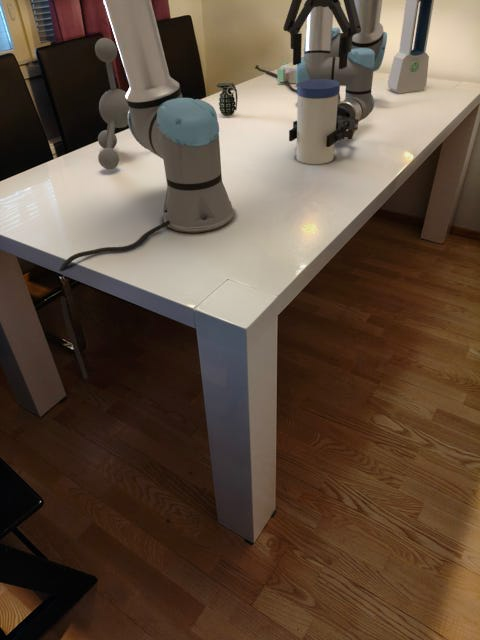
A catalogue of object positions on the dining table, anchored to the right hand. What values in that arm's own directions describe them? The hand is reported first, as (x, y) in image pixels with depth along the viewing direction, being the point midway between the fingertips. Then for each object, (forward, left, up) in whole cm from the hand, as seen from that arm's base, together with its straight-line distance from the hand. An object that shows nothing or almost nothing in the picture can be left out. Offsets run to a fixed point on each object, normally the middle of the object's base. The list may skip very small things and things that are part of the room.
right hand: (308, 138), depth 127 cm
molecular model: (-5, -50, -6) cm, 51 cm away
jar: (-4, +2, -6) cm, 8 cm away
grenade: (-45, -29, -6) cm, 54 cm away
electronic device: (-76, +34, -6) cm, 84 cm away
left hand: (-4, +2, +16) cm, 17 cm away
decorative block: (-98, -5, -6) cm, 98 cm away
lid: (-4, +2, +12) cm, 13 cm away
